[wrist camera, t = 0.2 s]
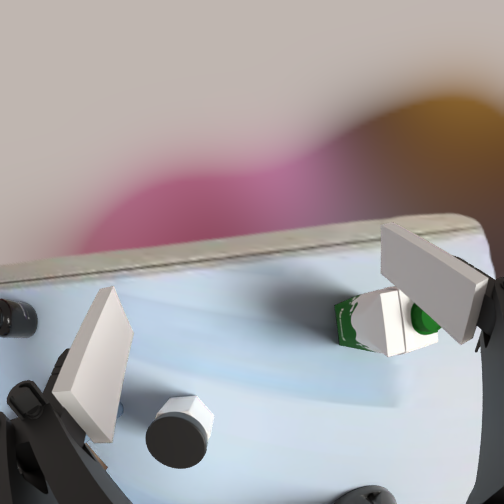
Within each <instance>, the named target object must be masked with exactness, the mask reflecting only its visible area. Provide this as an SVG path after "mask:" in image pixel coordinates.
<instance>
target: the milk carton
mask: <svg viewBox="0 0 504 504" xmlns="http://www.w3.org/2000/svg"><path fill="white" fill-rule="evenodd" d="M334 306H335V313H336V320H337V328H338V336H339V345H341V346H346V347H351V348H356V349H361V350H366V351H372V352H377V353H383V354H385V355H386V356H387V357H390V356H394V355H401V354H405V353H408V352H411V351H414V350H417V349H420V348H423V347H425V346H428V345H431V344H434V343H437V342H438V336H437V332H438V330H439V329H440V328H441V326H440V325H439V324H438V323H436V322H435V321H434V320H433V319H432V318H431V317H430V316H429V315H428V314H427V313H425V312H424V311H423V310H422V309H421V308H420V307H419V306H418V305H417V304H415V303H414V302H413V301H412V300H411V299H410V298H409V297H407V296H406V295H405V294H404V293H403V292H402V291H401V290H399V289H398V288H397V287H396V286H393V287H387V288H386V289H385V288H384V289H380V290H376V291H372V292H368V293H364V294H360V295H357V296H355V297H352V298H350V299H348V300H346V301H343V302H341V303H339V304H336V305H334Z"/></svg>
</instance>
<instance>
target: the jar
mask: <svg viewBox="0 0 504 504" xmlns="http://www.w3.org/2000/svg"><path fill="white" fill-rule="evenodd" d="M213 420H214V415H213V413H212V412H211V411H210V410H209V409H208V408H207V407H206V406H205V404H204V403H203V402H202V401H201V400H200V399H199V398H198V396H185V397H172V398H170V399H169V400H168V401H167V402H166V403H165V404H164V406H163V407H162V408H161V409H160V410H159V411H158V413H157V414H156V417H155V420H154V421H153V422H152V423H151V425H150V426H149V427H148V429H147V432H146V445H147V448H148V450H149V452H150V453H151V454H152V456H153V457H154V458H155V459H156V460H157V461H159V462H160V463H162V464H164V465H166V466H168V467H172V468H178V469H183V468H189V467H192V466H194V465H196V464H197V463H199V462H200V461H201V460H202V458H203V457H204V455H205V453H206V450H207V449H206V448H207V443H208V440H209V438H210V435H211V430H212V425H213Z"/></svg>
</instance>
